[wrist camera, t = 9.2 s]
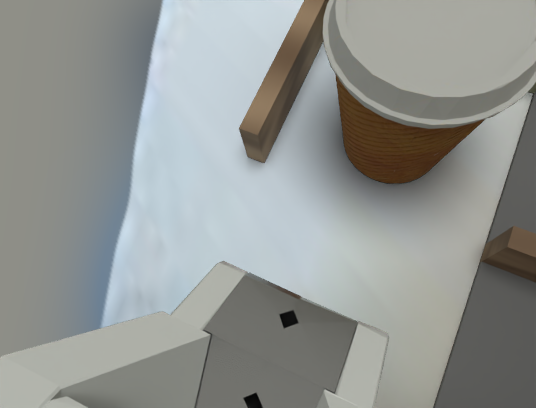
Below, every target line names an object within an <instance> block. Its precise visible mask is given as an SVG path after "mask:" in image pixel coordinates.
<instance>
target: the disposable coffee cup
mask: <svg viewBox="0 0 536 408" xmlns="http://www.w3.org/2000/svg"><path fill="white" fill-rule="evenodd" d="M323 40H324V47H325V50H326V53H327V56H328V60H329V63H330V66H331V68H332V69H333V71H334V72H335V74H336V81H337V89H338V99H339V106H340V116H341V122H342V131H343V139H344V147H345V151H346V153H347V155H348V157H349V160H350V161H351V162H352V163H353V165H354V166H355V167H356V168H357V169H358V170H359V171H361V172H362V173H363V174H364V175H366V176H368V177H369V178H372V179H374V180H377V181H380V182H384V183H405V182H410V181H412V180H415V179H418V178H420V177H421V176H423V175H424V174H426V173H427V172H428V171H429V170H430V169H431V168H432V167H433V166H434V165H435V164H437V163H438V162H439V161H440V160H441V159H442V158H443V157H444V156H445V155H447V154H448V153H449V152H450V151H451V150H452V149H453V148H454V147H455V146H456V145H457V144H459V143H460V142H461V141H462V140H463V139H464V138H465V137H466V136H467V135H469V134H470V133H471V132H472V131H473V130H474V129H475V128H476V127H477V126H478V125H480V124H481V123H482V122H483V121H484V120H485V119H486V118H490V117H493V116H495V115H496V114H498V113H500V112H501V111H503V110H505V109H506V108H508V107H510V106H511V105H513V104H515V103H516V102H517V101H518V100H520V99H521V98H522V97H523V96H524V95H525V94H526V93H527V92H528V91H529V90H530V89H531V88H532V87H533V85H534V84H535V82H536V0H329V2H328V4H327V7H326V10H325V14H324V19H323Z"/></svg>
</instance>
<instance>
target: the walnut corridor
mask: <svg viewBox="0 0 536 408" xmlns="http://www.w3.org/2000/svg"><path fill="white" fill-rule="evenodd" d="M328 2H329V0H304V2H303V4H302V6H301V8H300V10H299V12H298V14H297V16H296V18H295V20H294V22H293V24H292V26H291V27H290V29H289V31H288V33H287V35H286V37H285V39H284V41H283V43H282V45H281V47H280V49H279V51H278V53H277V55H276V57H275V59H274V61H273V63H272V65H271V67H270V69H269V71H268V72H267V74H266V76H265V78H264V80H263V82H262V84H261V86H260V88H259V90H258V92H257V94H256V96H255V98H254V100H253V102H252V104H251V106H250V108H249V110H248V112H247V114H246V116H245V118H244V119H243V121H242V123H241V125H240V127H239V130H240V133H241V137H242V140H243V143H244V146H245V149H246V153H247V156H248V157H249V158H252V159H254V160H257V161H260V162H262V163H265V161H266V159H267V156H268V154H269V152H270V150H271V148H272V146H273V144H274V142H275V140H276V138H277V136H278V134H279V132H280V130H281V127H282V125H283V123H284V121H285V119H286V117H287V115H288V113H289V111H290V109H291V107H292V105H293V103H294V101H295V98H296V96H297V94H298V92H299V90H300V88H301V86H302V84H303V82H304V80H305V78H306V76H307V74H308V71H309V69H310V67H311V65H312V63H313V61H314V59H315V57H316V55H317V53H318V51H319V49H320V47H321V45H322V42H323V19H324V14H325V10H326V7H327V4H328ZM535 91H536V82H535V84H534V85H533V87H532V88H531V89H530V90H529V91H528V92H531V93H535ZM480 262H484V263H487V264H489V265H492V266H494V267H497V268H500V269H502V270H505V271H507V272H510V273H512V274H515V275H518V276H520V277H523V278H525V279H528V280H531V281H533V282H536V234H535V233H532V232H530V231H527V230H524V229H521V228H519V227H516V226H512V227H511V228H509V229H508V230H506V231H505V232H503V233H502V234H500V235H499V236H497V237H496V238H494V239H493V240H491V241H490V242H488V243H487V244H486V245H485V248H484V251H483V254H482V257H481V260H480Z"/></svg>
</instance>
